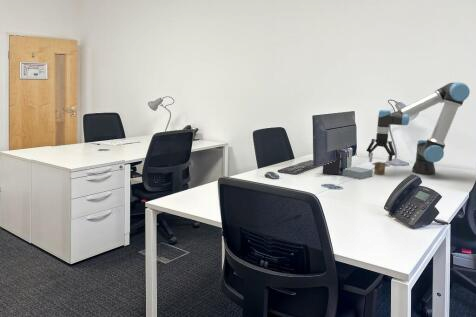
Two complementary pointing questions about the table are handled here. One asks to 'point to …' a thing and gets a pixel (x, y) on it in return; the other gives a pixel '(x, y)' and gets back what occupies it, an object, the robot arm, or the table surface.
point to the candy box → (349, 157)
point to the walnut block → (379, 168)
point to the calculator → (333, 166)
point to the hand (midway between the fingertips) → (379, 163)
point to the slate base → (357, 172)
